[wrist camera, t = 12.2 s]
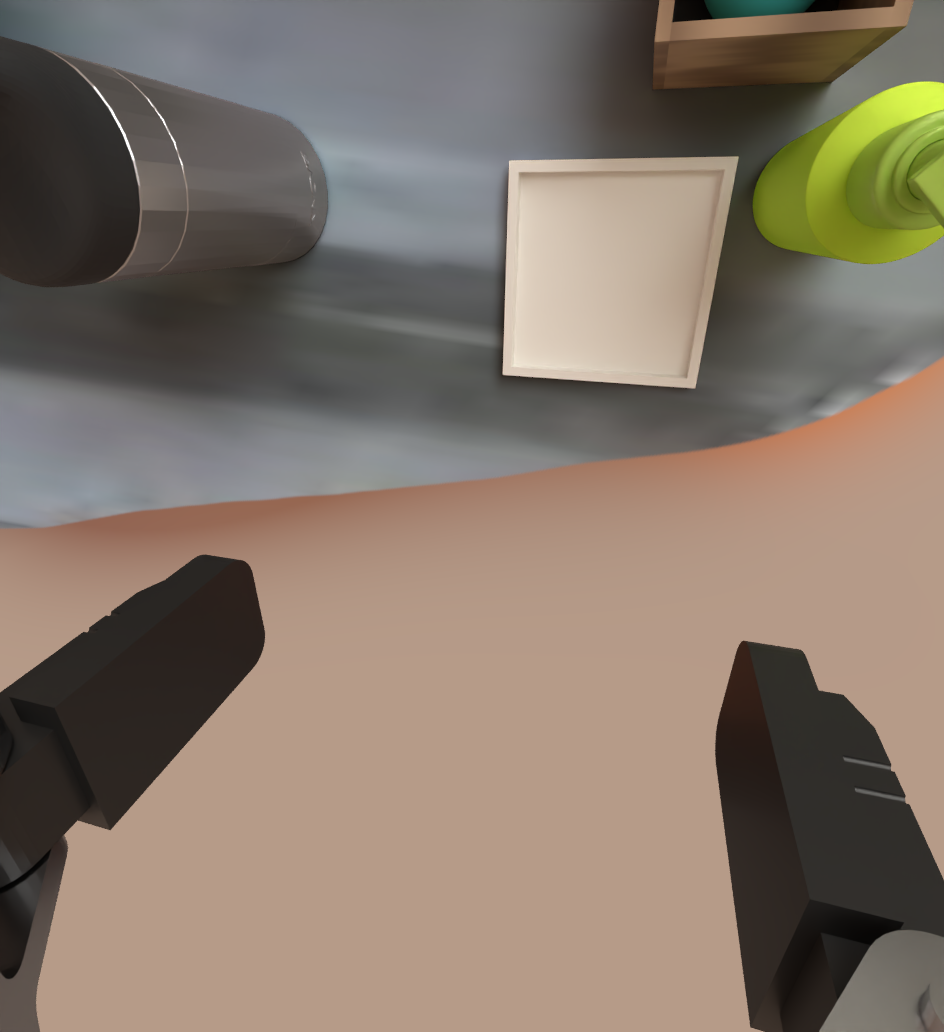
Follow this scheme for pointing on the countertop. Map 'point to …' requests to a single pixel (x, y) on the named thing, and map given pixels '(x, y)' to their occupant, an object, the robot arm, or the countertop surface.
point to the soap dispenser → (861, 181)
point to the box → (771, 45)
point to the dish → (613, 267)
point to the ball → (755, 7)
